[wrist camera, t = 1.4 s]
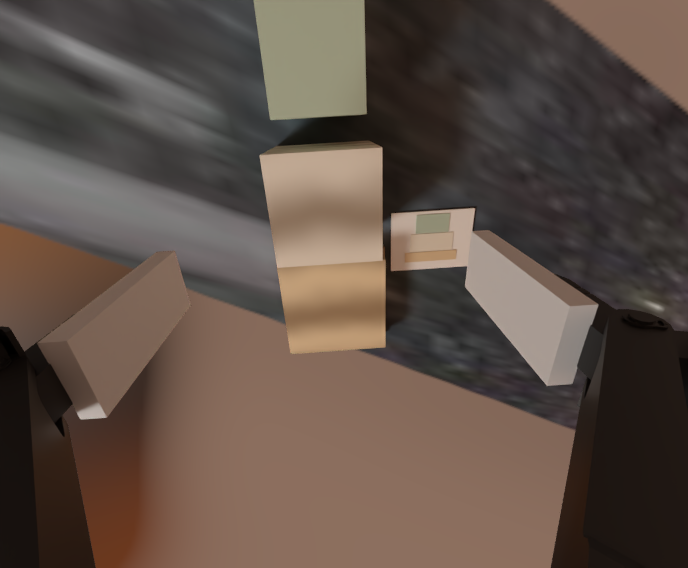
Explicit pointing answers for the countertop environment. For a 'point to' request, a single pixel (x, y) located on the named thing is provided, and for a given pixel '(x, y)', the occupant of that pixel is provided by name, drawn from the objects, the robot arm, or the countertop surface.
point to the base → (334, 306)
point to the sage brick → (313, 57)
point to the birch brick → (325, 202)
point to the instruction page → (431, 239)
